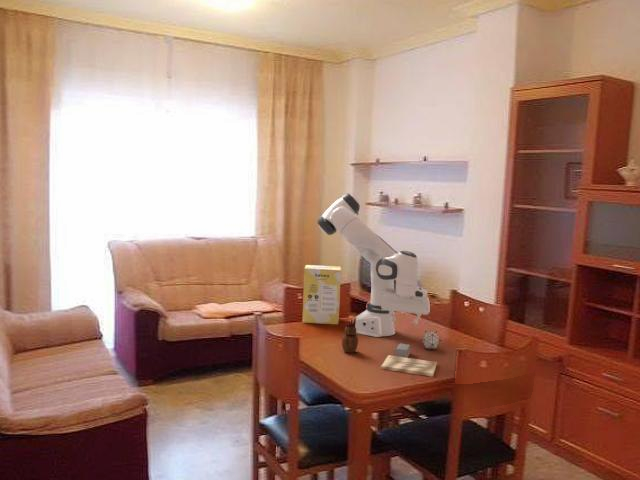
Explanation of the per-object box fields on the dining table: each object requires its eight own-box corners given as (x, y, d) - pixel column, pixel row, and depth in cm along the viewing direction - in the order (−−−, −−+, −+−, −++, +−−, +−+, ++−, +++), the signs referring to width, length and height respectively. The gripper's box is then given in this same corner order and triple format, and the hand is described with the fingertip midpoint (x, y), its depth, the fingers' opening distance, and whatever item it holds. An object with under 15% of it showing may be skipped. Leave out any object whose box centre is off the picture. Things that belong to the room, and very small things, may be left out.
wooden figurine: (358, 350, 231) (360, 316, 229) (355, 354, 225) (357, 320, 223) (343, 348, 233) (345, 315, 231) (340, 352, 227) (341, 318, 226)
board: (381, 368, 210) (381, 365, 209) (388, 357, 223) (388, 355, 223) (432, 376, 203) (433, 373, 203) (436, 364, 217) (437, 362, 216)
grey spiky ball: (432, 358, 236) (436, 345, 229) (415, 348, 239) (419, 335, 232) (442, 345, 241) (446, 332, 234) (426, 335, 244) (429, 322, 237)
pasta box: (338, 319, 282) (340, 266, 278) (338, 324, 271) (340, 270, 268) (304, 317, 283) (306, 264, 280) (302, 322, 272) (304, 268, 269)
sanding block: (395, 357, 224) (395, 348, 223) (399, 352, 231) (399, 343, 231) (406, 359, 222) (406, 350, 222) (409, 353, 230) (410, 344, 229)
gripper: (380, 289, 224) (378, 321, 225) (429, 294, 217) (427, 327, 219) (383, 286, 230) (381, 317, 231) (431, 291, 223) (429, 323, 225)
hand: (404, 322), depth 225 cm, fingers open, 8 cm apart
